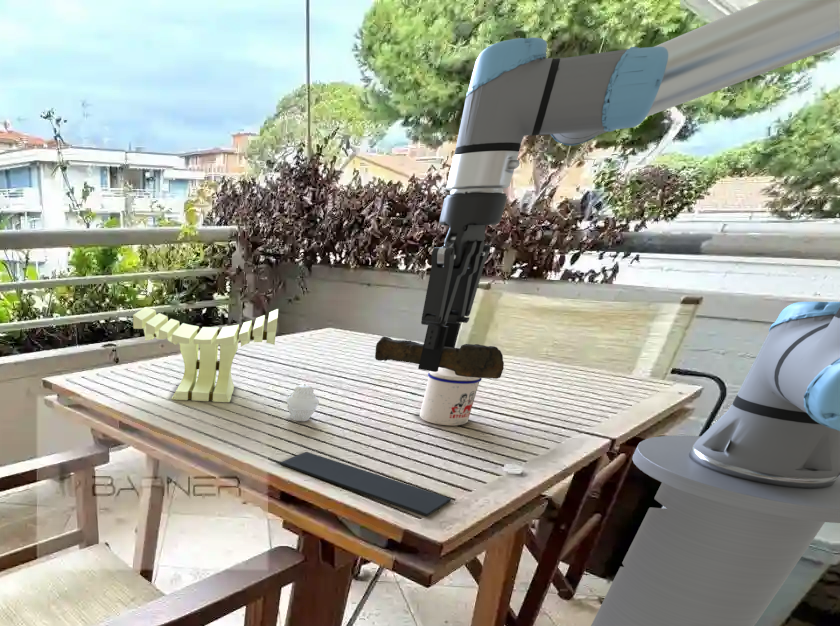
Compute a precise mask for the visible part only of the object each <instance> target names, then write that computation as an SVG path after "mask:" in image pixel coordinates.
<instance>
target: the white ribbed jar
mask: <svg viewBox="0 0 840 626" xmlns="http://www.w3.org/2000/svg"><path fill="white" fill-rule="evenodd" d="M291 393H292V394H290V395H288V397H287V398H286V405H287V409H288V413H289V415H290V417H291V420H293V421H296V422H307V421H309V420H310V419H311V417H312V416H313V414H314V413H315V411H316V410H317V408H318V407H319V404H320V400H319V398H318V397H317V396H316V394H315V392H314V388H313V387H312V386H311V385H309V384H306V383H305V384H299V385H297V386H296V387H295V388H294V391H293V392H291Z"/></svg>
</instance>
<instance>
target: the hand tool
mask: <svg viewBox="0 0 840 626" xmlns="http://www.w3.org/2000/svg"><path fill="white" fill-rule="evenodd" d="M423 345H424V343H419V342H417V341H412V340H406V339H399V340H398V339H393V338H391V337H389V336H382V337H381V338H380V339H379V340H378V341H377V343H376V345H375V352H374V353H375V354H374V358H375V360H376V361H379V362H381V361H384V362H387V361H394V362H401V363H410V364H415V365H419V362H420V358H421V354H422V349H423ZM504 365H505V362H504V356H503V353H502V351H501V350H500V349H499V348H498V347H497V346H495V345H489V346H488V345H484V344H479V343H476V344H474V343H473V344H471V343H465V344H462V345H460V347H455V348H453V347H445V346H444V348H443V352H442V356H441V360H440V364H439V367H440V368H446V369H449V370H452V371H455V374H456V375H458V376H465V377H477V378H482V379H493V380H494V379H495V380H496V379H501V377H502V375H503V371H504Z"/></svg>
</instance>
